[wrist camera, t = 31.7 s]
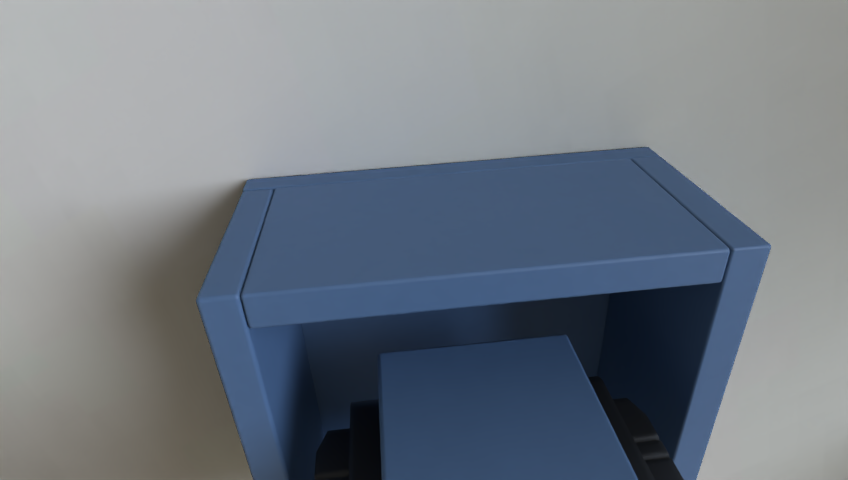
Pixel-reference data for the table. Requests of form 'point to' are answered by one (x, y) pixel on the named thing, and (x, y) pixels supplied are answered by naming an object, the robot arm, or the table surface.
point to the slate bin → (476, 288)
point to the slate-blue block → (494, 414)
